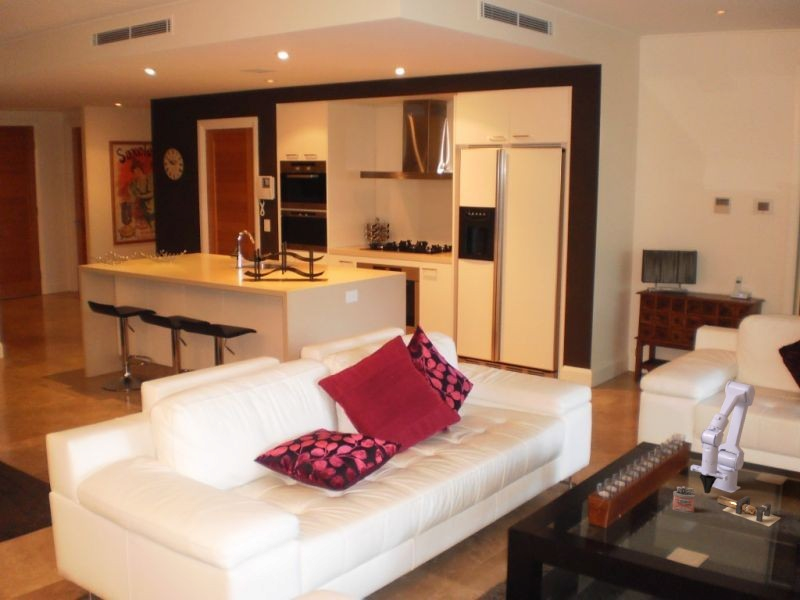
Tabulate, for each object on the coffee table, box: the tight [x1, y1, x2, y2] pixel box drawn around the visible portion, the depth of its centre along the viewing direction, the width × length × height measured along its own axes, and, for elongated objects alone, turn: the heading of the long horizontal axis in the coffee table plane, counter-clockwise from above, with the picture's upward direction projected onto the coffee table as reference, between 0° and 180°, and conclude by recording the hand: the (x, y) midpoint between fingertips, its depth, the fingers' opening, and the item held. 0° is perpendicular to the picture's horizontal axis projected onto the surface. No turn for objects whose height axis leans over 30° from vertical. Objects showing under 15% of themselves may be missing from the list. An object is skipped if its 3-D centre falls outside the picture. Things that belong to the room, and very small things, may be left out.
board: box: [722, 495, 781, 527], centre depth 317 cm, size 18×10×5 cm, turn 42°
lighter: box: [672, 486, 696, 514], centre depth 320 cm, size 8×3×10 cm, turn 68°
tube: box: [716, 495, 757, 515], centre depth 321 cm, size 14×3×3 cm, turn 42°
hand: (707, 492), depth 330 cm, fingers closed
